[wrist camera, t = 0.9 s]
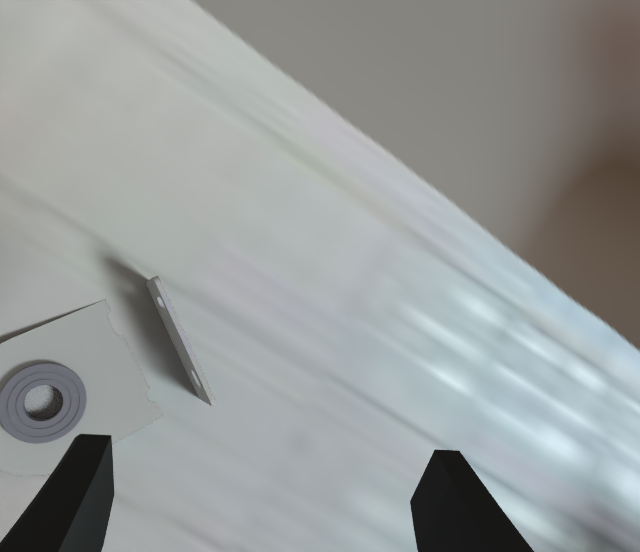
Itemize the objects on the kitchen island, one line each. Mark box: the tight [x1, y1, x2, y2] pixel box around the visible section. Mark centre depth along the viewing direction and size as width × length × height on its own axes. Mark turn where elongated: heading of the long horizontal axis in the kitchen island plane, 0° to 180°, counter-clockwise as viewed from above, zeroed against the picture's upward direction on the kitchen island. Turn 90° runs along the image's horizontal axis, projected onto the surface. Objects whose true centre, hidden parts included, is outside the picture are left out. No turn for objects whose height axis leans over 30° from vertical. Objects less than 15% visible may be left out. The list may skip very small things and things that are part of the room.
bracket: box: [0, 276, 216, 476], centre depth 23 cm, size 6×10×3 cm, turn 115°
